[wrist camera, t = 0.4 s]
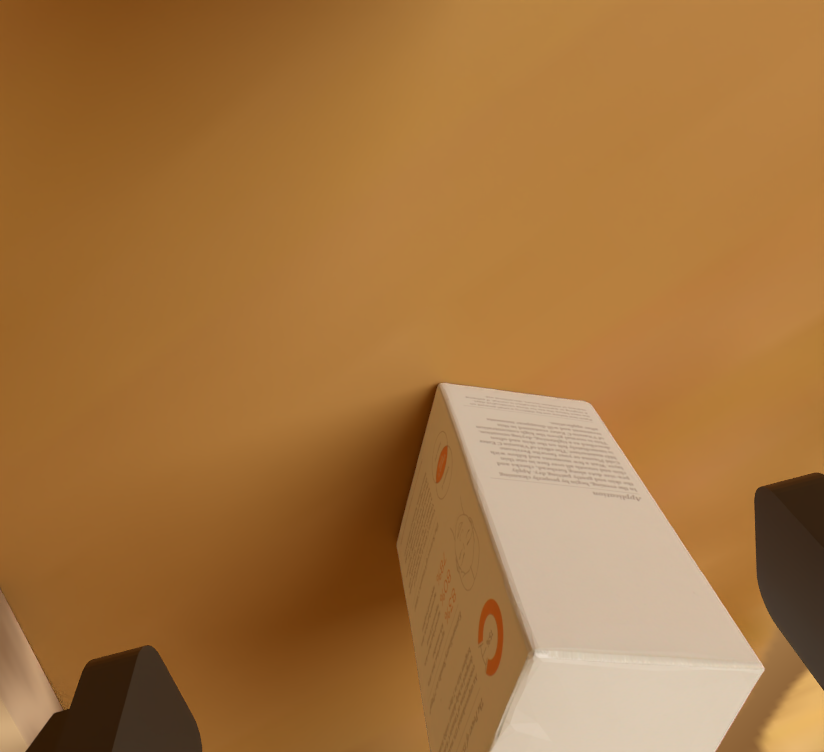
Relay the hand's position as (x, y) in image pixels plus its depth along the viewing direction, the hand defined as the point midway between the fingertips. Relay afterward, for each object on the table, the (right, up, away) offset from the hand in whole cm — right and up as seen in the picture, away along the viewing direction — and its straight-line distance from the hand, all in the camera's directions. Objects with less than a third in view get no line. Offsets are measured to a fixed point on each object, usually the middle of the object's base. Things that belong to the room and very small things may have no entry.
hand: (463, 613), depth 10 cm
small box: (+2, -1, +21) cm, 21 cm away
